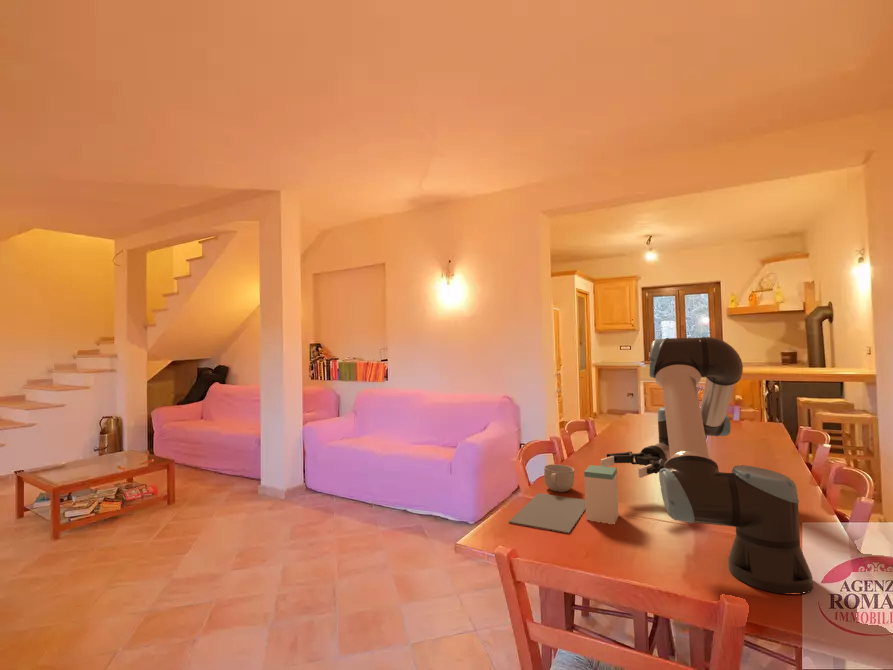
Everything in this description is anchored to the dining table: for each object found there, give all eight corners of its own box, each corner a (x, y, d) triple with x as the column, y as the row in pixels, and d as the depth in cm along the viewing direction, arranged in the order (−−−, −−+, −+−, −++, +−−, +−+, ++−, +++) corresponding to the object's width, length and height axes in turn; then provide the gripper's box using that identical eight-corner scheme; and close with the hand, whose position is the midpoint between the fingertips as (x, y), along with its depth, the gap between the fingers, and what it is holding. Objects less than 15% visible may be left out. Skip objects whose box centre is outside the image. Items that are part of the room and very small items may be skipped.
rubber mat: (569, 534, 123) (569, 532, 123) (508, 523, 132) (508, 521, 132) (590, 501, 148) (590, 500, 148) (538, 494, 156) (538, 493, 156)
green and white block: (614, 524, 129) (612, 474, 129) (586, 520, 133) (584, 471, 133) (618, 515, 136) (616, 467, 136) (591, 511, 140) (590, 465, 140)
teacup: (552, 483, 169) (552, 462, 169) (580, 488, 162) (579, 466, 162) (535, 493, 158) (534, 470, 158) (563, 499, 151) (562, 475, 151)
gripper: (693, 475, 143) (658, 490, 130) (623, 459, 163) (587, 471, 151) (692, 451, 143) (657, 464, 131) (623, 439, 163) (586, 449, 151)
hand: (619, 468), depth 141 cm, fingers open, 13 cm apart
